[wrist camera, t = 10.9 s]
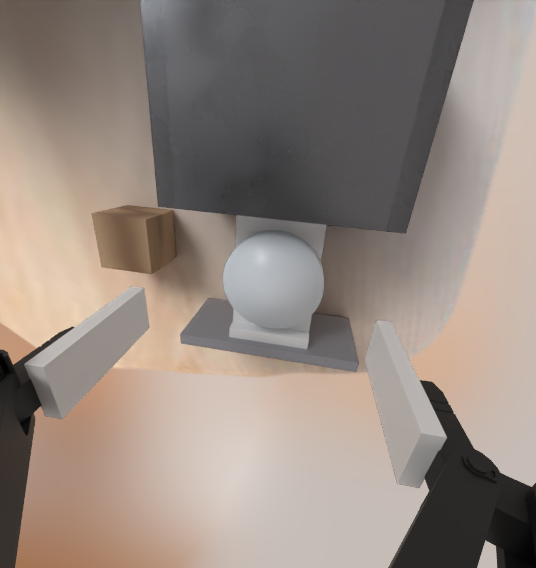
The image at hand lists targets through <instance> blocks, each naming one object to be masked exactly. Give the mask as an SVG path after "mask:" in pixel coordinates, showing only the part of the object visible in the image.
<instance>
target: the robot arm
mask: <svg viewBox="0 0 536 568" xmlns="http://www.w3.org/2000/svg"><path fill="white" fill-rule="evenodd" d="M148 328H149V320H148V313H147V306H146V298H145V291H144V288H141V287H134V286H131V287H130V288H129V289H127V290H126V291H124V292H123V293H122V294H120V295H119V296H117V297H116V298H115V299H113V300H112V301H111V302H109V303H108V304H106V305H105V306H104V307H102V308H101V309H99V310H98V311H97V312H95V313H94V314H93V315H91V316H90V317H88V318H87V319H86V320H84V321H83V322H82V323H80V324H79V325H77V326H76V327H71V328H69V329H66V330H64V331H62V332H60V333H58V334H57V335H55V336H54V337H52V338H51V339H50V341H47V342H45V343H44V344H42V346H41V347H38V348H37V349H35V350H34V351H32V352H31V353H30V354H28V355H27V356H25V357H24V358H22V359H21V360H20V361H18V362H17V363H15V364H14V365H13V364H12V362H11V359H10V357H9V355H8V352H6V351H4V350H0V568H15V562H16V556H17V548H18V541H19V534H20V527H21V519H22V512H23V505H24V498H25V491H26V483H27V476H28V469H29V461H30V454H31V447H32V440H33V433H34V426H35V416H34V412H35V411H36V410H37V409H38V408H39V407H40V406H41V407H42V410H43V412H44V415H45V416H47V417H52V418H57V419H63V418H64V417H65V416H66V415H67V414H68V413H69V412H70V411H71V410H72V409H73V408H74V407H75V406H76V405H77V404H78V402H79V401H80V400H81V399H82V398H83V397H84V396H85V395H86V394H87V393H88V392H89V391H90V390H91V389H92V387H94V386H95V385H96V383H97V382H98V381H99V380H100V379H101V378H102V377H103V376H104V375H105V374H106V373H107V372H108V371H109V370H110V369H111V368H112V367H113V365H114V364H115V363H116V362H117V361H118V360H119V359H120V358H121V357H122V356H123V355H124V354H125V353H126V352H127V351H128V350H129V349H130V348H131V346H132V345H133V344H134V343H135V342H136V341H137V340H138V339H139V338H140V337H141V336H142V335H143V334H144V333H145V332H146V331H147V330H148ZM365 363H366V367H367V371H368V375H369V378H370V382H371V386H372V390H373V394H374V397H375V401H376V405H377V409H378V413H379V417H380V420H381V424H382V428H383V432H384V436H385V440H386V443H387V447H388V451H389V455H390V459H391V462H392V466H393V470H394V474H395V477H396V482H397V484H400V485H405V486H411V487H416V488H420V486H421V484H422V483H423V481H424V479H425V480H426V483H427V486H428V488H429V493H428V495H427V496H426V498H425V500H424V502H423V503H422V505H421V507H420V509H419V511H418V513H417V515H416V517H415V519H414V521H413V523H412V524H411V526H410V528H409V530H408V532H407V534H406V536H405V538H404V539H403V541H402V543H401V545H400V547H399V549H398V551H397V553H396V555H395V556H394V558H393V560H392V562H391V564H390V566H389V567H388V568H477V565H478V562H479V559H480V556H481V552H482V549H483V546H484V543H485V540H486V541H488V542H490V543H492V544H494V545H495V546H496V553H497V568H536V483H535V484H534V485H533V487H530V486H528V485H526V484H523V483H521V482H519V481H517V480H514V479H512V478H510V477H508V476H506V475H504V474H502V473H500V472H499V470H498V468H497V467H496V466H495V465H494V463H493V462H492V461H491V460H490V459H489V458H487V457H486V456H485V455H483V454H482V453H481V452H479V451H477V450H475V449H474V448H473V446H472V444H471V442H470V441H469V439H468V437H467V436H466V433H465V432H464V430H463V428H462V426H461V425H460V423H459V421H458V419H457V418H456V416H455V414H453V410H452V408H451V406H450V405H449V404H448V401H447V399H446V398H445V396H444V394H443V392H442V391H441V390H440V389H439V388H438V387H437V386H436V385H435V384H434V383H433V382H429V381H422V380H419V378H418V376H417V374H416V372H415V370H414V368H413V366H412V364H411V362H410V360H409V358H408V355H407V353H406V351H405V349H404V347H403V345H402V343H401V341H400V339H399V337H398V335H397V333H396V331H395V329H394V327H393V324H392V322H389V321H382V320H376V323H375V326H374V330H373V333H372V337H371V340H370V343H369V347H368V350H367V354H366V357H365Z"/></svg>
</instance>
